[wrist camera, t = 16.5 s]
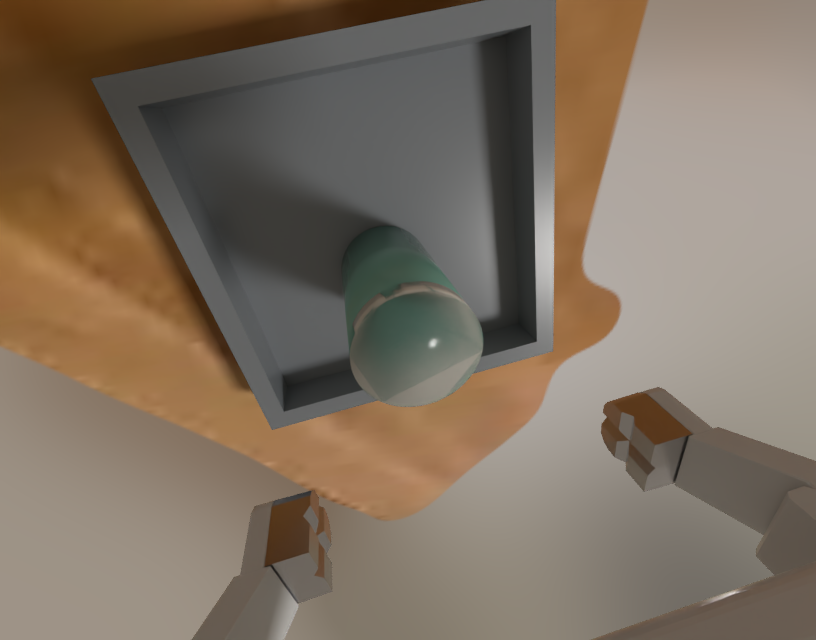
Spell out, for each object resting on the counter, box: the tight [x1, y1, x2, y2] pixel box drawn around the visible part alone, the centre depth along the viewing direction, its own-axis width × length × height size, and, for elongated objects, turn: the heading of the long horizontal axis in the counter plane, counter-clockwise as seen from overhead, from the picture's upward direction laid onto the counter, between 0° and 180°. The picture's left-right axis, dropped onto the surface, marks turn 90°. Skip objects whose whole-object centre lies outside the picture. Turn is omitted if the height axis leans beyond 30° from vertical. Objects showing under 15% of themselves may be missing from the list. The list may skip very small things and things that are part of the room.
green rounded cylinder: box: [341, 226, 483, 407], centre depth 20 cm, size 6×6×10 cm
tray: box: [91, 0, 556, 430], centre depth 22 cm, size 20×20×4 cm
